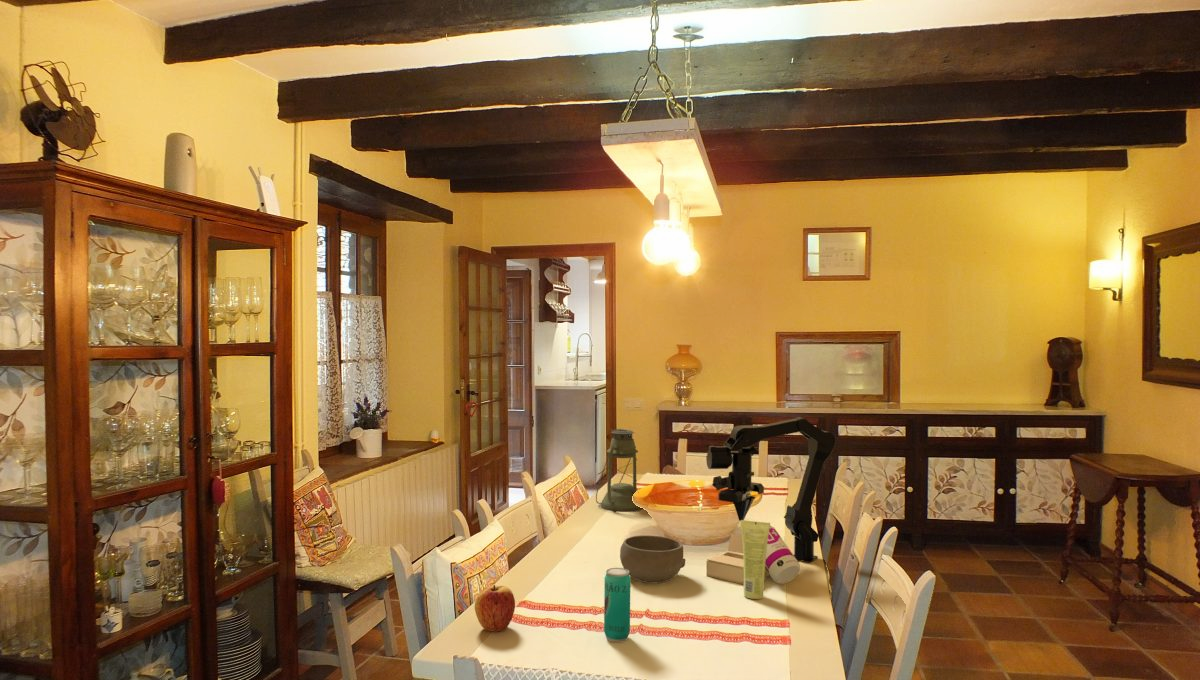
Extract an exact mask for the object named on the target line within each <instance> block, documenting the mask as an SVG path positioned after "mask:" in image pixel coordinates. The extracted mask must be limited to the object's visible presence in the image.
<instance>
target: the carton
mask: <svg viewBox="0 0 1200 680" xmlns="http://www.w3.org/2000/svg"><path fill="white" fill-rule="evenodd" d="M705 572H706V573H705V574H706V577H711V578H714V579H719V580H723V581H728V582H732V583H736V584H740V585H744V559H743V554H742V553H737V552H732V551H728V550H726V551H724V552H722V553H719V554H716V555H714V556H711V557H710V558H708V559H707V560H706V571H705ZM769 577H771V576H770V574H769V572H768V571H767V569H766V568H765V575H764V580H766V579H767V578H769Z"/></svg>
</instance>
